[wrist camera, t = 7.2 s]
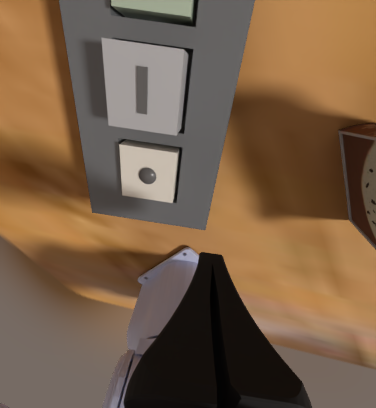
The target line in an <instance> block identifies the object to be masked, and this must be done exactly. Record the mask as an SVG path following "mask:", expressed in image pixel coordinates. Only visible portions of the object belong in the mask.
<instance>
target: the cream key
mask: <svg viewBox="0 0 376 408" xmlns="http://www.w3.org/2000/svg"><path fill="white" fill-rule="evenodd" d="M119 149H120V166H121V183H122V195H123V196H129V197H136V198H142V199H149V200H155V201H162V202H168V203H173V200H174V197H175V194H176V191H177V181H178V172H179V162H180V152H181V147H176V146H169V145H162V144H156V143H149V142H142V141H136V140H129V139H126V140H125V141H124V142H122V143H121V144H119Z"/></svg>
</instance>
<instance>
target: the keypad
mask: <svg viewBox="0 0 376 408" xmlns="http://www.w3.org/2000/svg"><path fill="white" fill-rule="evenodd" d="M254 2H255V0H196V9H195V19H194V27H190V26H183V25H176V24H169V23H162V22H155V21H147V20H140V19H133V18H126V17H125V16H124V15H122V14H121V13H120V12H119V11H117V10H116V9H115V8H114V7H112V6H111V0H59V4H60V10H61V17H62V23H63V29H64V36H65V42H66V49H67V55H68V61H69V68H70V74H71V80H72V87H73V93H74V100H75V106H76V112H77V119H78V125H79V132H80V138H81V144H82V151H83V157H84V164H85V170H86V176H87V183H88V189H89V195H90V202H91V208H92V213H99V214H105V215H111V216H118V217H124V218H131V219H137V220H143V221H150V222H156V223H163V224H169V225H175V226H182V227H188V228H195V229H201V230H205V229H206V225H207V220H208V215H209V211H210V206H211V201H212V197H213V192H214V187H215V183H216V178H217V173H218V169H219V164H220V160H221V155H222V150H223V146H224V141H225V136H226V132H227V127H228V122H229V118H230V113H231V108H232V104H233V99H234V95H235V90H236V85H237V81H238V76H239V71H240V67H241V62H242V57H243V53H244V48H245V43H246V39H247V34H248V30H249V25H250V20H251V16H252V11H253V6H254ZM101 38H107V39H114V40H121V41H128V42H135V43H143V44H150V45H157V46H164V47H171V48H178V49H184V50H185V51H186V52H187V54H188V64H187V74H186V84H185V94H184V104H183V114H182V124H181V129H180V131H179V132H178V134H177V136H175V135H169V134H162V133H155V132H149V131H142V130H135V129H129V128H122V127H115V126H109V125H108V112H107V100H106V88H105V76H104V63H103V51H102V39H101ZM126 139H129V140H136V141H142V142H149V143H156V144H162V145H169V146H176V147H181V152H180V162H179V172H178V181H177V191H176V194H175V197H174V200H173V203H168V202H162V201H155V200H149V199H142V198H136V197H129V196H123V195H122V183H121V166H120V149H119V144H121V143H122V142H124V141H125V140H126Z"/></svg>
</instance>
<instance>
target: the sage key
mask: <svg viewBox="0 0 376 408" xmlns="http://www.w3.org/2000/svg"><path fill="white" fill-rule="evenodd" d="M111 6H112V7H114V8H115V9H116V10H117V11H119V12H120V13H121V14H122V15H124V16H125V17H126V18H133V19H140V20H147V21H155V22H162V23H169V24H176V25H183V26H190V27H194V19H195V9H196V0H111Z"/></svg>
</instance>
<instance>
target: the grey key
mask: <svg viewBox="0 0 376 408" xmlns="http://www.w3.org/2000/svg"><path fill="white" fill-rule="evenodd" d="M101 39H102V51H103V63H104V76H105V88H106V100H107V112H108V125H109V126H115V127H122V128H129V129H135V130H142V131H149V132H155V133H162V134H169V135H175V136H177V134H178V132H179V131H180V129H181V124H182V114H183V104H184V94H185V84H186V74H187V64H188V54H187V52H186V51H185V50H184V49H178V48H171V47H164V46H157V45H150V44H143V43H135V42H128V41H121V40H114V39H107V38H101Z"/></svg>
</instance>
